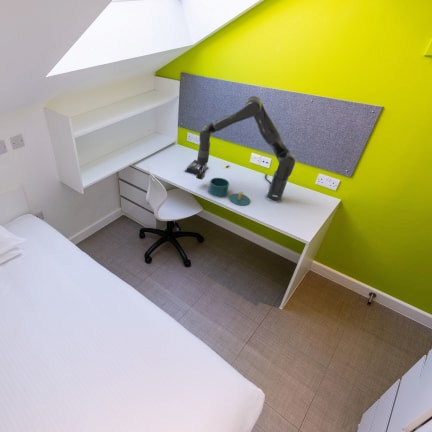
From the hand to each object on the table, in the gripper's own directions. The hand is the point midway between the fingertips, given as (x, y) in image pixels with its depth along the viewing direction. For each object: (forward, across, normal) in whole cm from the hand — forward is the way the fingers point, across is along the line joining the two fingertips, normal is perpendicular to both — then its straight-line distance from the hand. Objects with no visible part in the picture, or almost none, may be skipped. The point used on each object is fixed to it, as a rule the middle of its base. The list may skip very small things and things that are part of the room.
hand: (200, 177), depth 211 cm
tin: (+8, -1, -15) cm, 17 cm away
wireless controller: (+8, +24, +12) cm, 28 cm away
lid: (+7, -2, -31) cm, 32 cm away
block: (0, 0, 0) cm, 0 cm away
